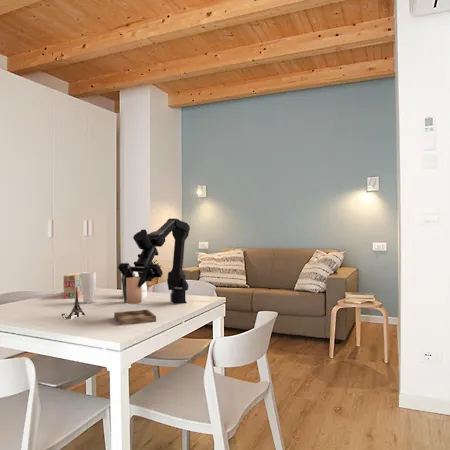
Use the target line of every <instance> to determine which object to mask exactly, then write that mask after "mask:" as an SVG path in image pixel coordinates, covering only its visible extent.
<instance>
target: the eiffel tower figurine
mask: <svg viewBox="0 0 450 450" xmlns="http://www.w3.org/2000/svg"><path fill="white" fill-rule="evenodd" d="M77 290H78V288H76V298H74V299H75V300H74V304H73V308H72V309H71V311H70V313H69V314H68V315H67V316H68V317H65V318H66V319H65V320H69V319H71V316H72V315H77V317H79V314H81V315H84V316H86V313H85V312H84V311H83V310H82V308H81V306H80V302H79V297H78V292H77ZM73 313H74V314H73ZM65 314H66V313H61V316H62V318H63V319H64V317H63V315H64V316H66V315H65ZM79 318H80V317H79Z"/></svg>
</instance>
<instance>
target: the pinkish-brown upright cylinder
mask: <svg viewBox="0 0 450 450" xmlns="http://www.w3.org/2000/svg"><path fill="white" fill-rule="evenodd" d="M140 278H141V277H127V278H126V303H125V304H128V305H129V304H130V305H135V304H141V303H142V302H143V300H142V299H143V298H142V286H141V287H138V284H139V280H140Z"/></svg>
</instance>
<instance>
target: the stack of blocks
mask: <svg viewBox="0 0 450 450" xmlns="http://www.w3.org/2000/svg"><path fill="white" fill-rule="evenodd" d="M76 288H78V290H77V292H78V298H79V297H81V296H83V289H82V272H71V273H68V274H65V275H63V299H75V298H76Z"/></svg>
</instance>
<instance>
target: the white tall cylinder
mask: <svg viewBox="0 0 450 450" xmlns="http://www.w3.org/2000/svg"><path fill="white" fill-rule="evenodd" d="M81 273H82V289H83V295H82V298H83V304H92V303H95V301H96V300H95V299H96V287H97V286H96V285H97V272H96V271H83V272H82V271H81Z"/></svg>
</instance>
